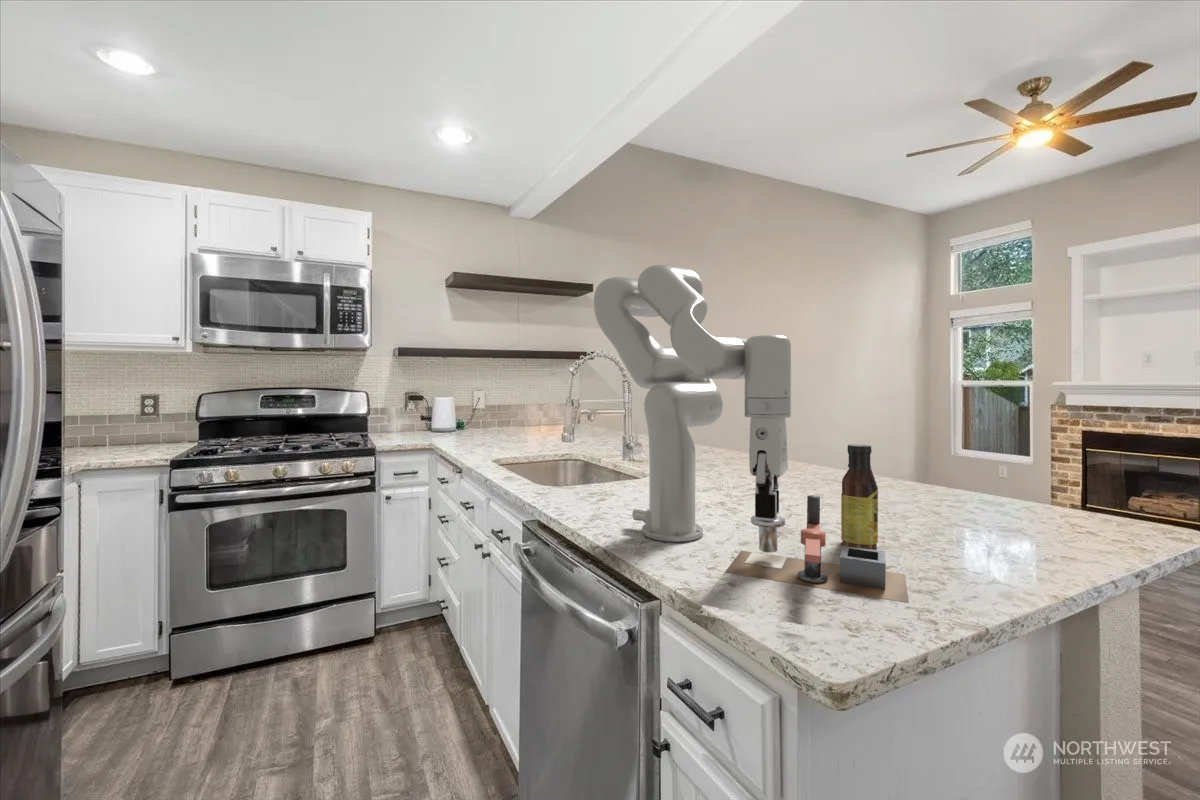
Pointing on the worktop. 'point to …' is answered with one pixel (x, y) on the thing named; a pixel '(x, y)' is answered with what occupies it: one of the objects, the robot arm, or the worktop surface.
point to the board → (788, 572)
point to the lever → (813, 531)
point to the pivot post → (812, 573)
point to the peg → (768, 530)
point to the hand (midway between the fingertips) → (767, 514)
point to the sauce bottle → (859, 501)
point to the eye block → (862, 567)
